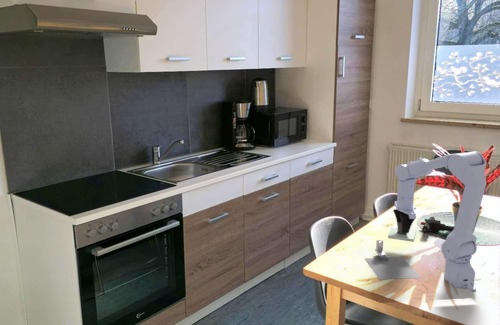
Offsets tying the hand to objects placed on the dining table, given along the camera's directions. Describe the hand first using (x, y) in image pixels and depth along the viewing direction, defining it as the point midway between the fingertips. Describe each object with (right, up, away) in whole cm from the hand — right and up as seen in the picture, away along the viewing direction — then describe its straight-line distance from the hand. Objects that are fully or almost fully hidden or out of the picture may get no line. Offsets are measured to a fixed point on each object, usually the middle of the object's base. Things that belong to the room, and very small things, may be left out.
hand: (403, 230), depth 165 cm
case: (-8, -13, -10) cm, 18 cm away
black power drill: (+24, -5, +24) cm, 34 cm away
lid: (0, -2, 0) cm, 2 cm away
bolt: (-9, -8, -3) cm, 13 cm away
